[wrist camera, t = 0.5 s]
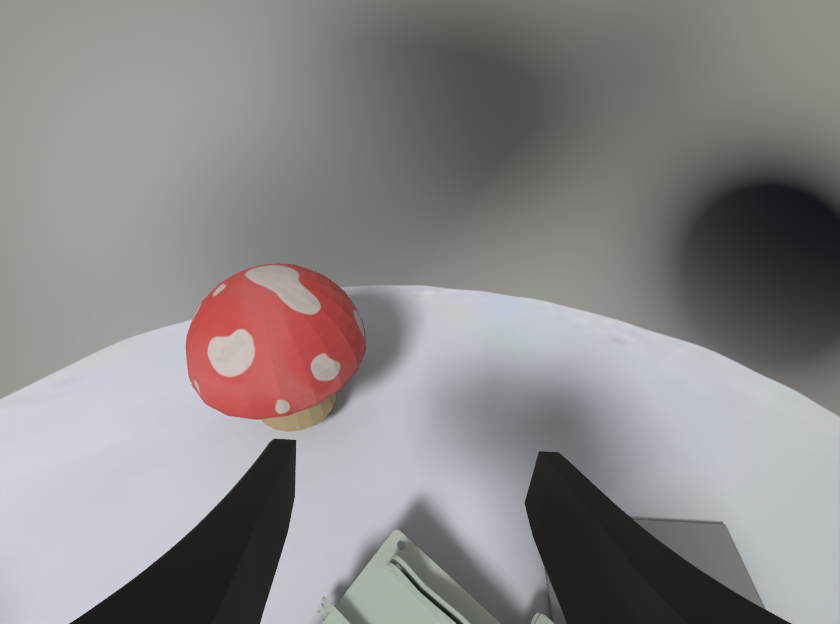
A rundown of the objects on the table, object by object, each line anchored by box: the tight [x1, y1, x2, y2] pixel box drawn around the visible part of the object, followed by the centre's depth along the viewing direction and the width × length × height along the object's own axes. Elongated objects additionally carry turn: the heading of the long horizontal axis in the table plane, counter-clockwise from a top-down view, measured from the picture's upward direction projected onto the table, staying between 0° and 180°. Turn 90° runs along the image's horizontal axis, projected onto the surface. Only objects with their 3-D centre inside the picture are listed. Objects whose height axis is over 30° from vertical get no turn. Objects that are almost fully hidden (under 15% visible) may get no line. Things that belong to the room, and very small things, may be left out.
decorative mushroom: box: [186, 264, 366, 431], centre depth 35 cm, size 13×13×15 cm
